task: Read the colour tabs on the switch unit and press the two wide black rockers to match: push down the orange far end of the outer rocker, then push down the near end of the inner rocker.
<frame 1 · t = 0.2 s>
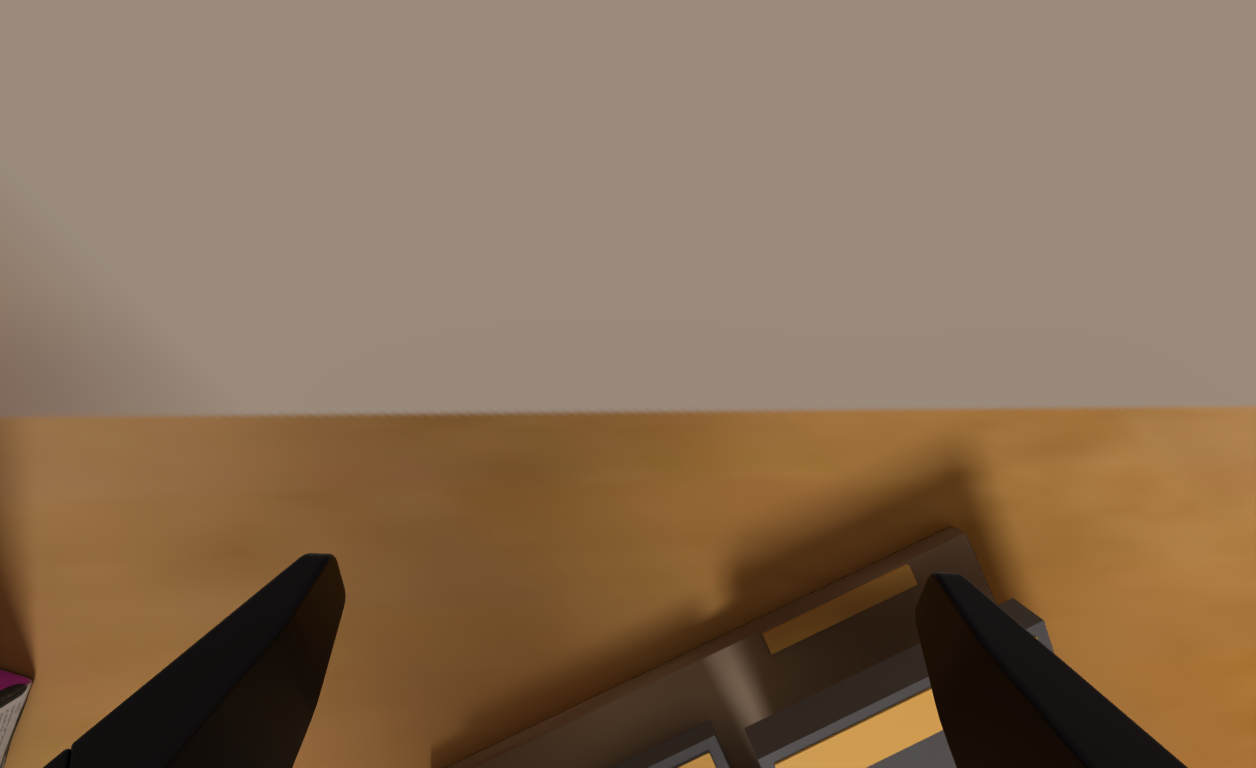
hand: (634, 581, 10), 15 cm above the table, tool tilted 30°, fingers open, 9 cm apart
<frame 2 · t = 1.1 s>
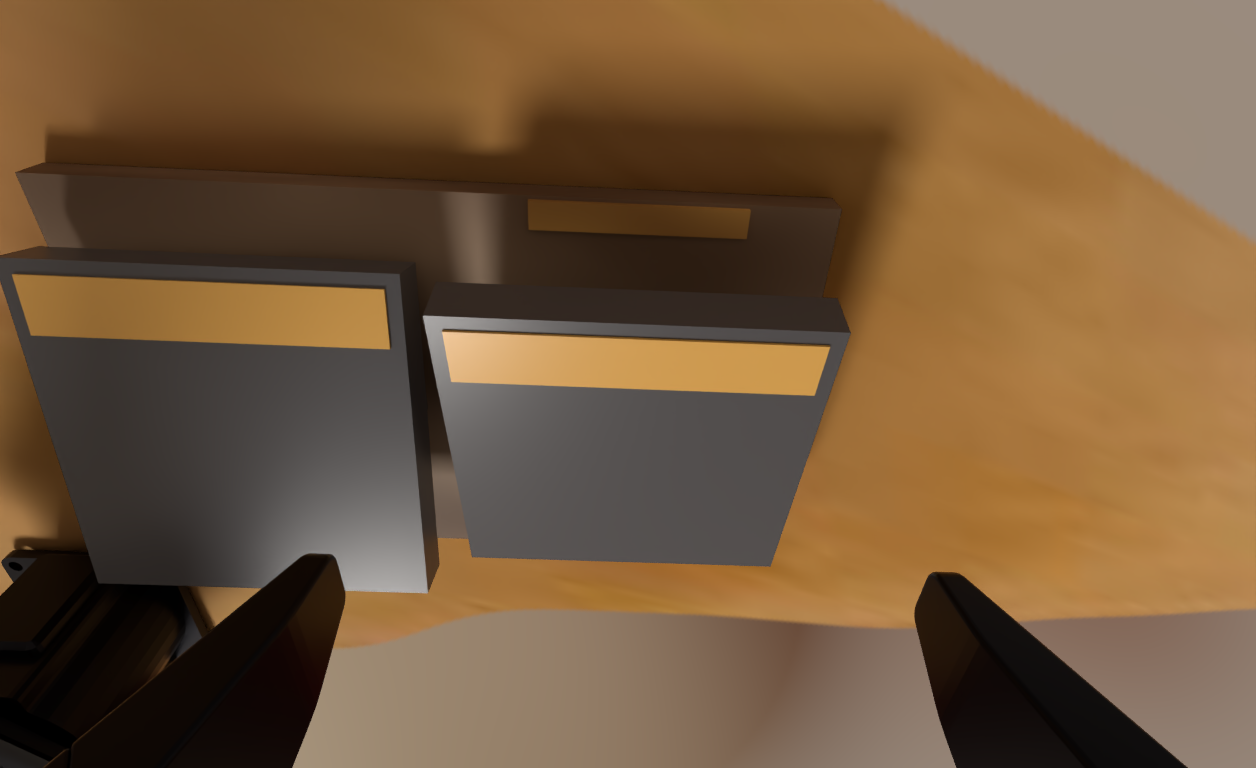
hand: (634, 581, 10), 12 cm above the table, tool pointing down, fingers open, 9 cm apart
switch unit: (463, 377, 22), on the table
rocker outer: (628, 446, 19), point 3 cm above the table, hinge at -10.0°
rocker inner: (246, 432, 19), point 3 cm above the table, hinge at 10.0°
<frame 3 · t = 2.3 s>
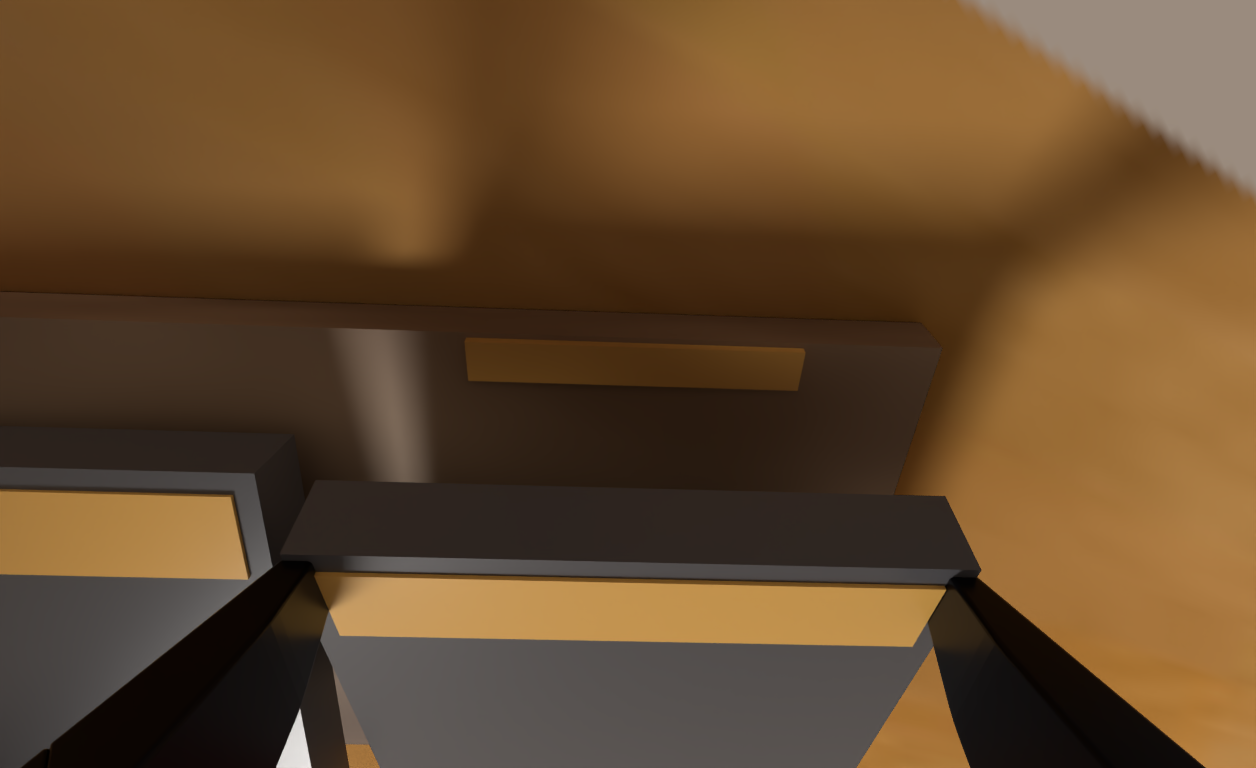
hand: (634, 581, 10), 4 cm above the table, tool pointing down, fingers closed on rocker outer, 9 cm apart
switch unit: (392, 551, 16), on the table
rocker outer: (622, 687, 13), point 3 cm above the table, hinge at -7.2°, touching gripper
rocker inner: (52, 676, 13), point 3 cm above the table, hinge at 10.0°
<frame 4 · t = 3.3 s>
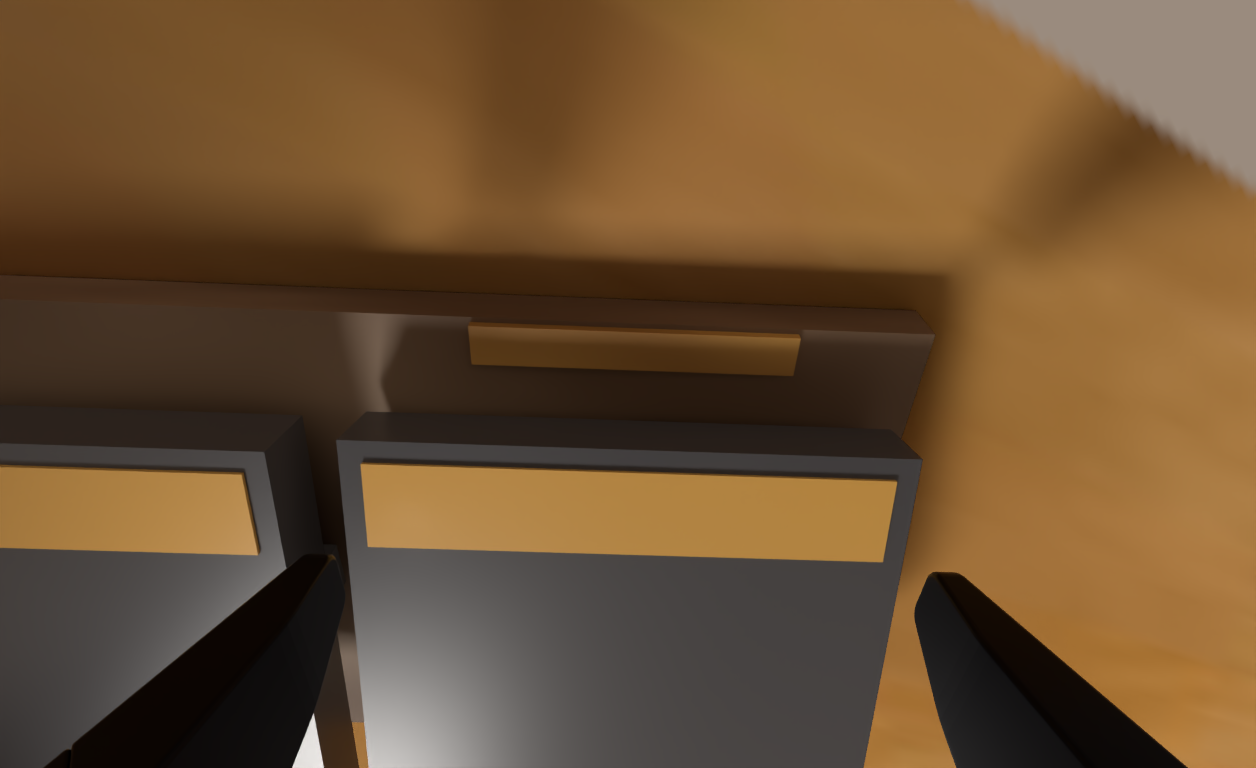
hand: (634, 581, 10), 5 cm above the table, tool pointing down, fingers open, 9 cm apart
switch unit: (397, 533, 16), on the table
rocker outer: (621, 663, 13), point 3 cm above the table, hinge at 14.8°
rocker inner: (68, 649, 13), point 3 cm above the table, hinge at 10.0°
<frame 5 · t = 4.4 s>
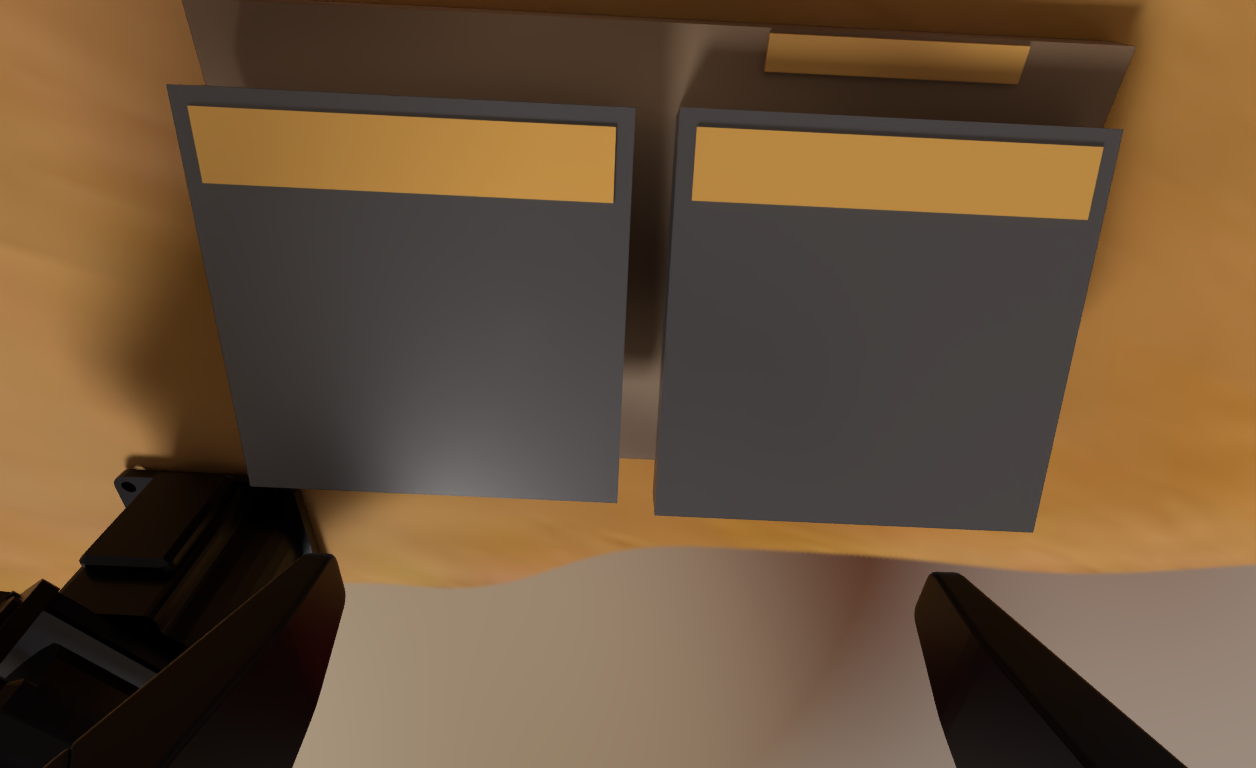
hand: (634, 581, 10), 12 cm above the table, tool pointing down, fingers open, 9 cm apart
switch unit: (645, 267, 20), on the table
rocker outer: (861, 332, 17), point 3 cm above the table, hinge at 18.5°
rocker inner: (427, 311, 17), point 3 cm above the table, hinge at 10.0°
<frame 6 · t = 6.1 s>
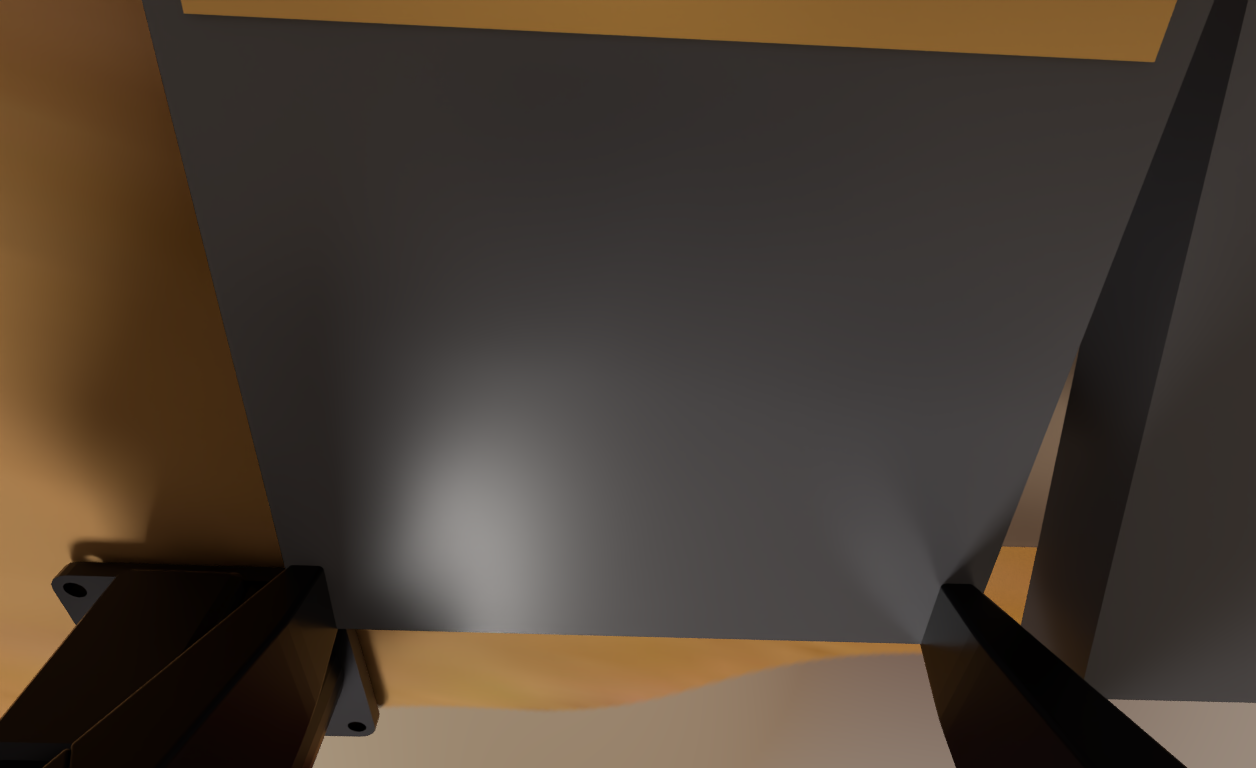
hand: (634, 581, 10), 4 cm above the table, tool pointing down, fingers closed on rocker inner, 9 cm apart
switch unit: (969, 230, 11), on the table
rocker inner: (655, 308, 8), point 3 cm above the table, hinge at 5.8°, touching gripper
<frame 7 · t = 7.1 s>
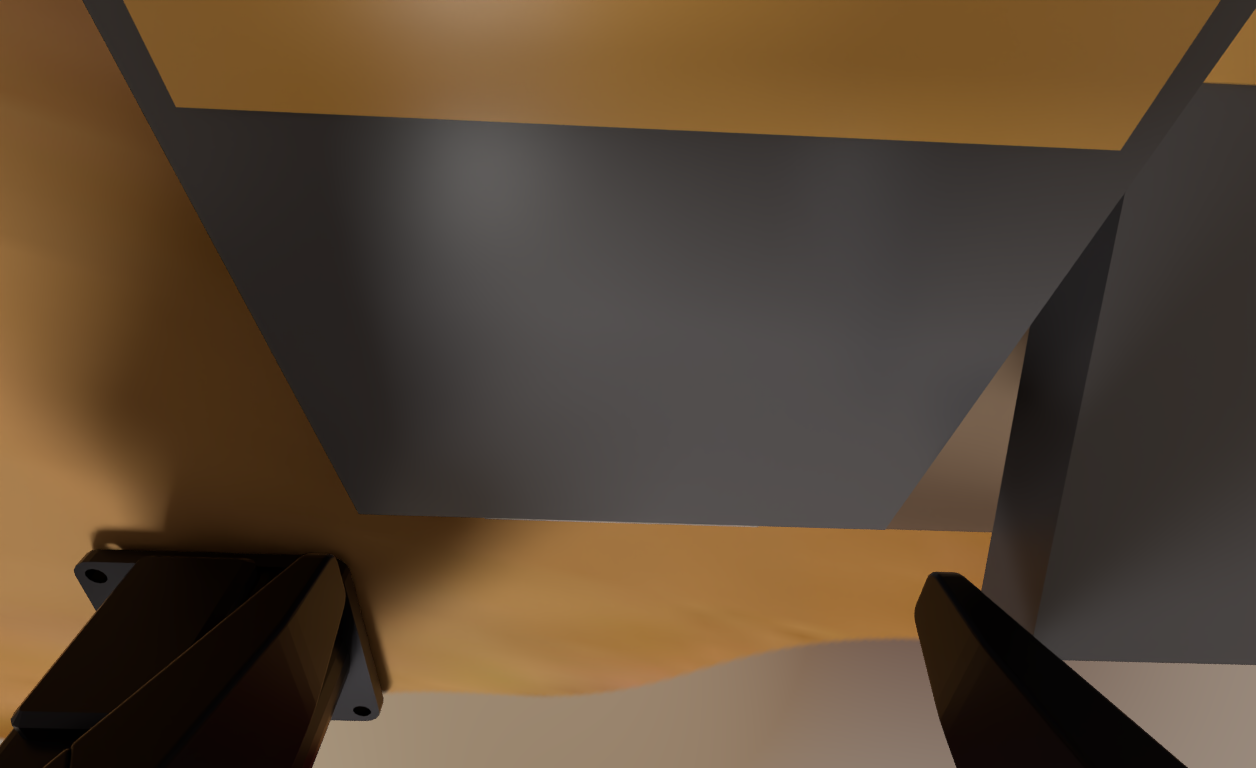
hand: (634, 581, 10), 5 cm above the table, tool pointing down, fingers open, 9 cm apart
switch unit: (933, 234, 12), on the table
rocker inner: (639, 304, 9), point 3 cm above the table, hinge at -17.3°
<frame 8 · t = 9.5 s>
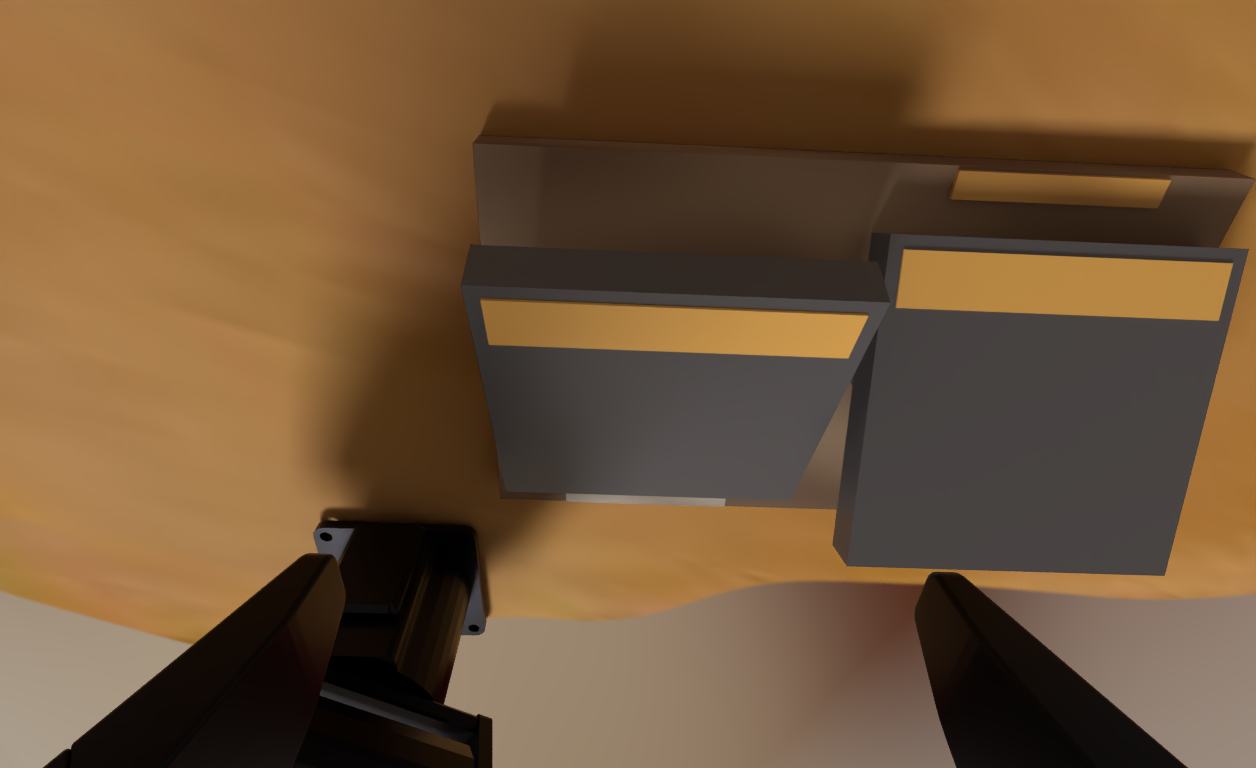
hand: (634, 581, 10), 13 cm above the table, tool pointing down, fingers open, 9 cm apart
switch unit: (815, 347, 23), on the table
rocker outer: (1023, 410, 20), point 3 cm above the table, hinge at 18.9°
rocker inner: (659, 397, 20), point 3 cm above the table, hinge at -20.2°
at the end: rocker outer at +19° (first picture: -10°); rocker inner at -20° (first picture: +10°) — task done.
